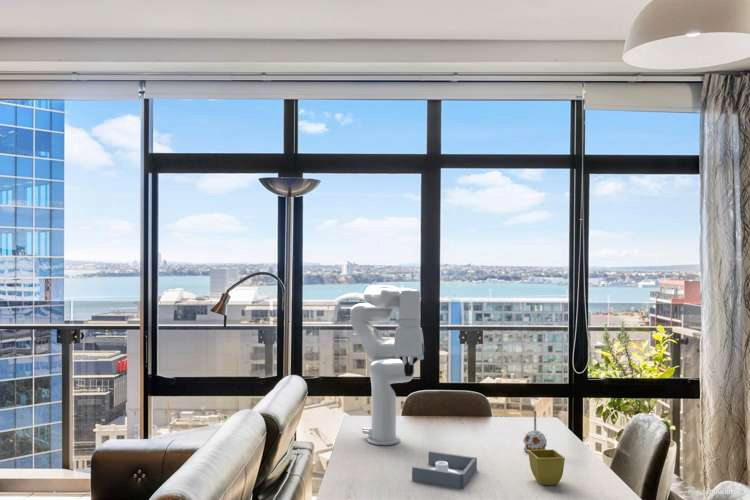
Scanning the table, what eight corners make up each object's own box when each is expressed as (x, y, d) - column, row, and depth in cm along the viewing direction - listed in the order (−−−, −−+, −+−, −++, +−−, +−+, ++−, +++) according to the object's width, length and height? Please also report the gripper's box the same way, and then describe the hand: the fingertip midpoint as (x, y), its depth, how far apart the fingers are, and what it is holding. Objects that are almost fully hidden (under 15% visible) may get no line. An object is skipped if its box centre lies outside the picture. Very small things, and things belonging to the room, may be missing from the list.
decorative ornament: (520, 452, 205) (520, 411, 205) (530, 447, 210) (530, 407, 211) (540, 457, 199) (540, 414, 200) (550, 452, 205) (549, 411, 206)
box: (412, 480, 175) (412, 467, 175) (429, 462, 192) (429, 451, 192) (463, 488, 169) (463, 475, 169) (476, 469, 185) (476, 457, 185)
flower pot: (527, 477, 179) (527, 449, 179) (554, 477, 179) (553, 448, 180) (538, 488, 170) (537, 458, 170) (565, 487, 171) (565, 457, 171)
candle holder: (426, 484, 173) (426, 469, 174) (419, 470, 185) (419, 457, 186) (464, 482, 175) (464, 468, 175) (454, 469, 187) (454, 456, 187)
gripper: (385, 323, 197) (385, 375, 197) (426, 325, 192) (425, 379, 191) (393, 322, 204) (393, 372, 204) (432, 323, 199) (432, 375, 198)
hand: (408, 375), depth 197 cm, fingers closed
